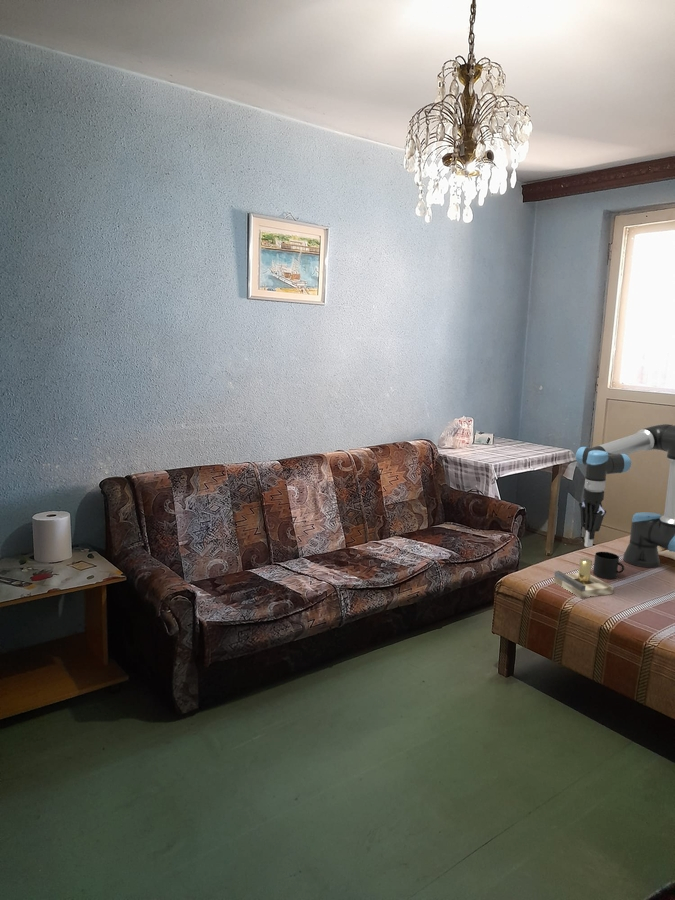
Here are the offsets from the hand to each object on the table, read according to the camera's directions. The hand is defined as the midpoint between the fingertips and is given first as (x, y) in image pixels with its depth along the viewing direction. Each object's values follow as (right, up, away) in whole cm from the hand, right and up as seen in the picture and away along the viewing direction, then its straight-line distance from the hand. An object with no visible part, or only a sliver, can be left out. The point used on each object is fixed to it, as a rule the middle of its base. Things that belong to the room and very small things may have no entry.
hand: (588, 546), depth 256 cm
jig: (-1, -18, +3) cm, 18 cm away
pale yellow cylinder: (-1, -18, +3) cm, 18 cm away
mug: (+15, -16, +17) cm, 28 cm away
